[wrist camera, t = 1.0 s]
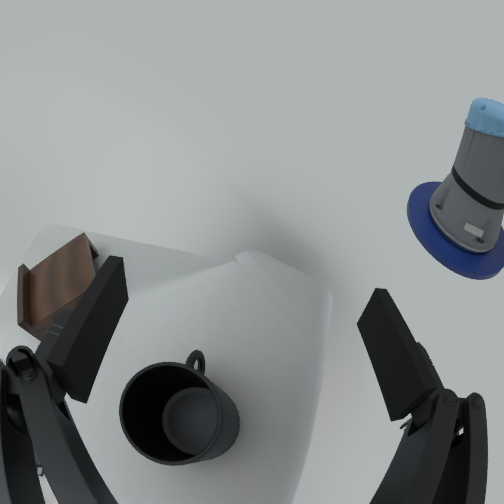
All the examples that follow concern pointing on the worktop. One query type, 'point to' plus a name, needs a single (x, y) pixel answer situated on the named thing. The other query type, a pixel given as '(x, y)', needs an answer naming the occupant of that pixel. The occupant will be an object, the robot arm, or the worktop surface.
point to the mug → (177, 413)
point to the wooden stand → (54, 285)
